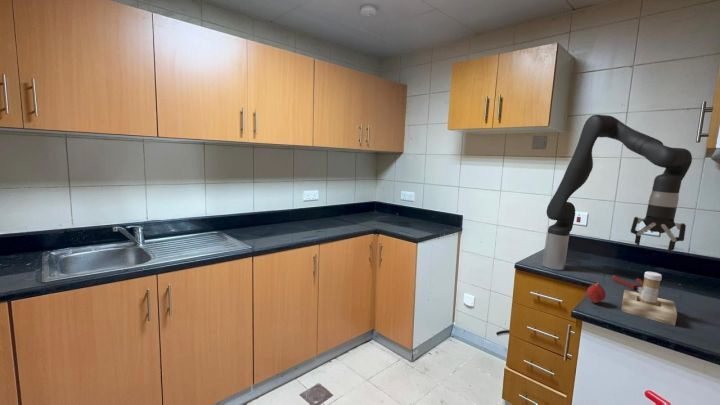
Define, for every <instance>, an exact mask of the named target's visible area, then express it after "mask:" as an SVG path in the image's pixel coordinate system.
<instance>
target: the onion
mask: <svg viewBox="0 0 720 405" xmlns="http://www.w3.org/2000/svg"><path fill="white" fill-rule="evenodd" d="M585 293H586V296H587V298H588V299H589V300H590V301H591V302H592V303H593V304H598V303H599V302H601V301H604V300H605V298H606V295H607V294H606V291H605V289H604V288H603V287H602V286H601V285H600V282H596V283H595V284H594V283H593V284H591V285H590V286H589V287H588V288H587V289H586V292H585Z"/></svg>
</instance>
